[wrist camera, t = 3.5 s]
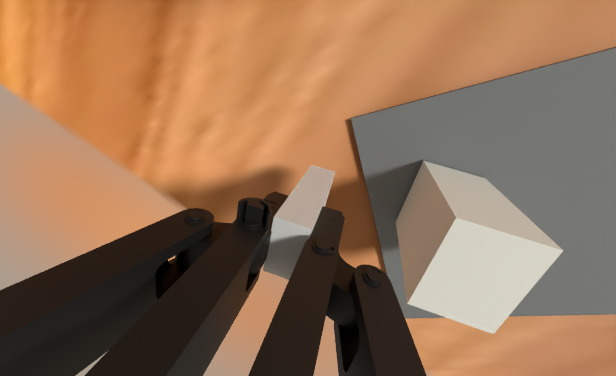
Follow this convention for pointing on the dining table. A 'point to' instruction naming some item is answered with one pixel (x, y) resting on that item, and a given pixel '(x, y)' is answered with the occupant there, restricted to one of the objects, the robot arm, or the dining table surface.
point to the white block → (468, 248)
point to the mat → (514, 170)
